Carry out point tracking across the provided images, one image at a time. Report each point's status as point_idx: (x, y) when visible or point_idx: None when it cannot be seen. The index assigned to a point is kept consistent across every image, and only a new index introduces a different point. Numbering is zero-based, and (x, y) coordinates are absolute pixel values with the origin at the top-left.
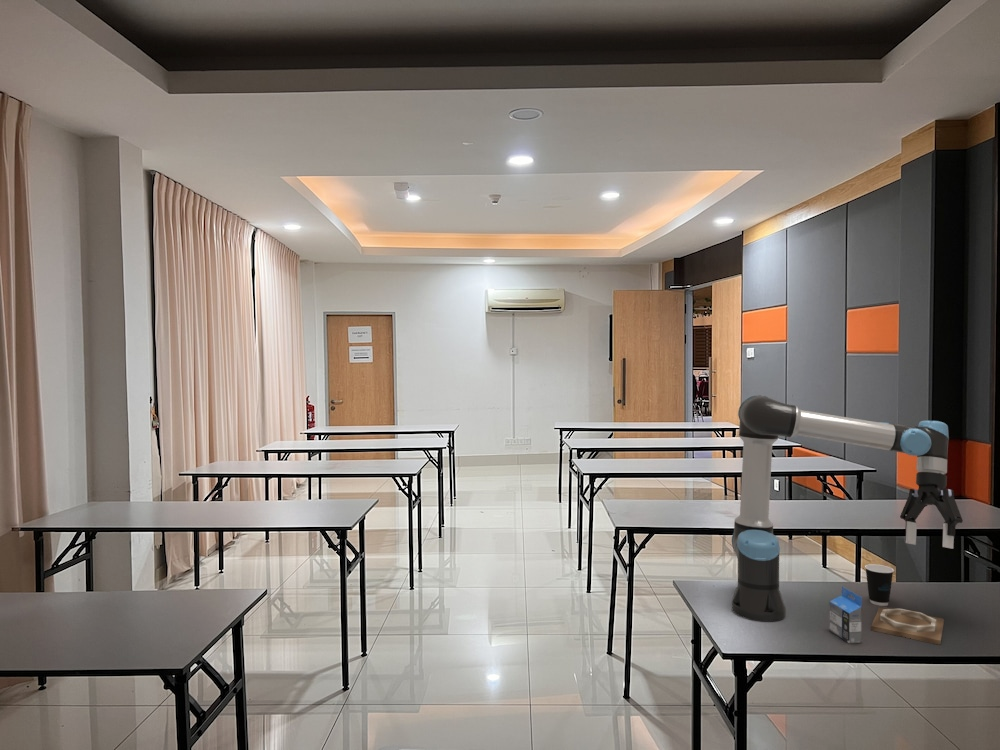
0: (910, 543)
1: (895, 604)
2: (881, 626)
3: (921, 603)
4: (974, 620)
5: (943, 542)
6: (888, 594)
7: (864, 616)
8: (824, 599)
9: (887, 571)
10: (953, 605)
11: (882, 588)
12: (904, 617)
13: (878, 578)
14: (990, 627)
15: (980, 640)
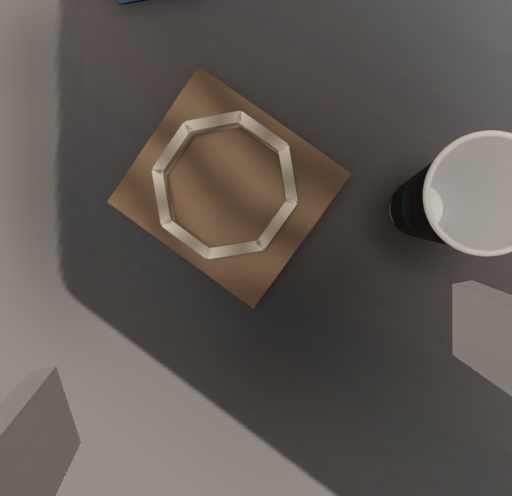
0: (455, 311)
1: (402, 254)
2: (195, 94)
3: (411, 340)
4: (275, 404)
5: (21, 396)
6: (400, 221)
7: (302, 105)
8: (449, 46)
9: (492, 244)
10: (393, 426)
11: (405, 194)
12: (263, 199)
13: (424, 172)
14: (227, 411)
15: (143, 324)
